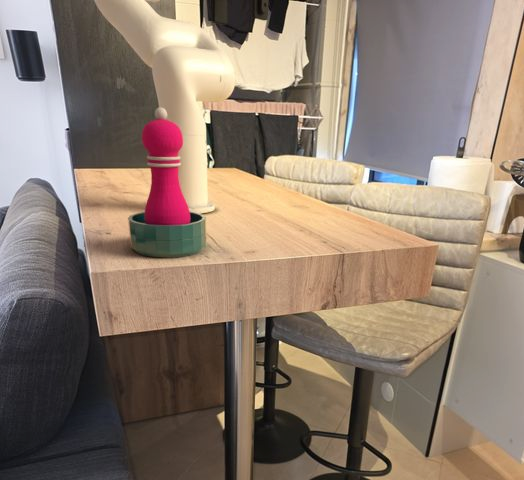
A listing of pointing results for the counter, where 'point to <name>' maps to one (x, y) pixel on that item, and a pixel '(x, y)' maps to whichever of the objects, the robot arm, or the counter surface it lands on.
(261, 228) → the counter surface
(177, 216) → the pepper mill
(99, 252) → the counter surface
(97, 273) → the counter surface
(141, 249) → the bowl
